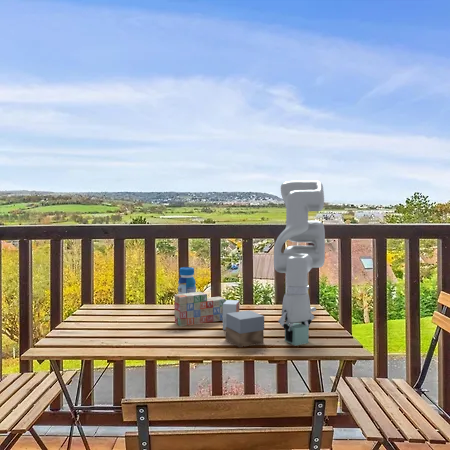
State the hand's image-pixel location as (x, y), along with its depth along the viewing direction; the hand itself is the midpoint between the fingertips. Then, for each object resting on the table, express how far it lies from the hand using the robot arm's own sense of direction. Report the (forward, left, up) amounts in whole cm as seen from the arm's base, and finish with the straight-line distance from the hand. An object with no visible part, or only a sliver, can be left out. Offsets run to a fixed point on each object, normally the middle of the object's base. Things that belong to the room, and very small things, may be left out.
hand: (296, 339), depth 166 cm
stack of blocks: (+17, -43, -1) cm, 47 cm away
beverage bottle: (+14, -64, -1) cm, 66 cm away
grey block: (+16, -10, +4) cm, 19 cm away
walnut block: (+16, -10, -1) cm, 19 cm away
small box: (+11, -28, -1) cm, 30 cm away
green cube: (0, 0, -1) cm, 1 cm away
